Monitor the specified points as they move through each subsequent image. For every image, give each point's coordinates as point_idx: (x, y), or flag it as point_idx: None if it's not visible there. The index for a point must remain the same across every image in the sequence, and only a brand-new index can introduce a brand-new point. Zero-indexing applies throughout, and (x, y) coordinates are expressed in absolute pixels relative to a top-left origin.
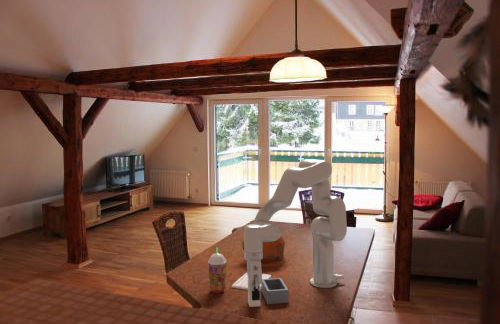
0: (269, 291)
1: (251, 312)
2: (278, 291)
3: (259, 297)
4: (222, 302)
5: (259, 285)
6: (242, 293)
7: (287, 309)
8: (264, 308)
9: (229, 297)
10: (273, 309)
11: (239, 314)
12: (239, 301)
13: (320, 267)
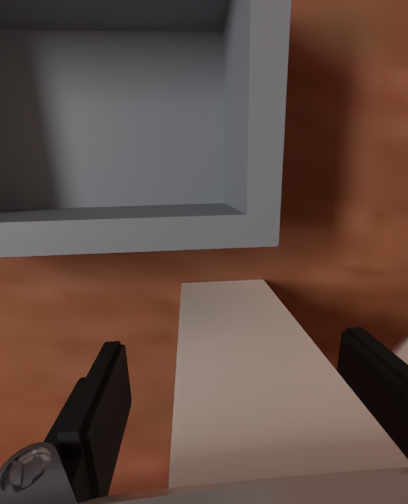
0: (279, 217)
1: None
2: (281, 76)
3: (375, 342)
4: (164, 488)
5: (372, 429)
6: (16, 380)
7: (378, 66)
8: (308, 255)
9: None
10: (343, 191)
11: None
12: (161, 403)
13: None
